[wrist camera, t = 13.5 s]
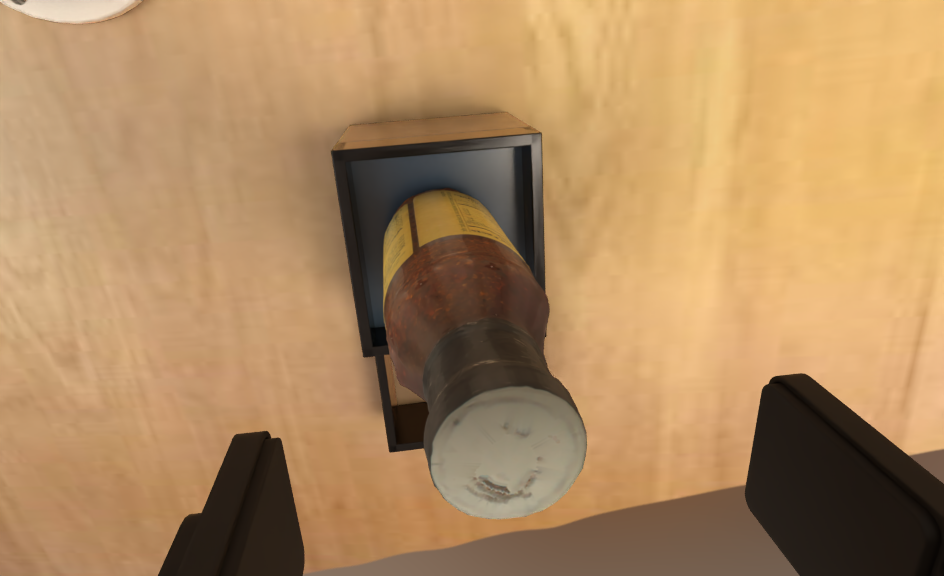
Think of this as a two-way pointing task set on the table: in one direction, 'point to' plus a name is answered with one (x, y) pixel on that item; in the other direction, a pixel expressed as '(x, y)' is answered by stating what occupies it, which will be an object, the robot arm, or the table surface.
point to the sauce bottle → (477, 359)
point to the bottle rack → (416, 171)
